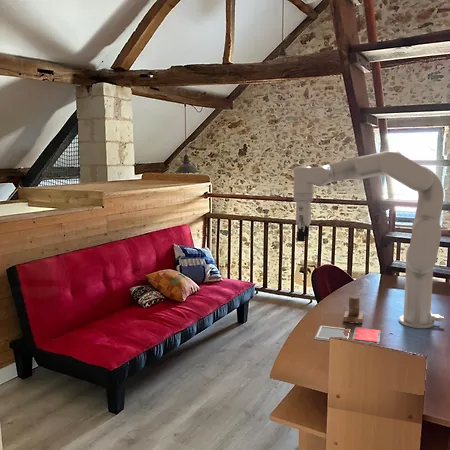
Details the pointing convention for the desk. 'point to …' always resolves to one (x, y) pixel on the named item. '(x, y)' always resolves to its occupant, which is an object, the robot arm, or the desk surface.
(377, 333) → the ink pad
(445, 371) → the desk surface
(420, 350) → the desk surface
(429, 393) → the desk surface
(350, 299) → the stamp
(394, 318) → the desk surface
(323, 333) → the board
